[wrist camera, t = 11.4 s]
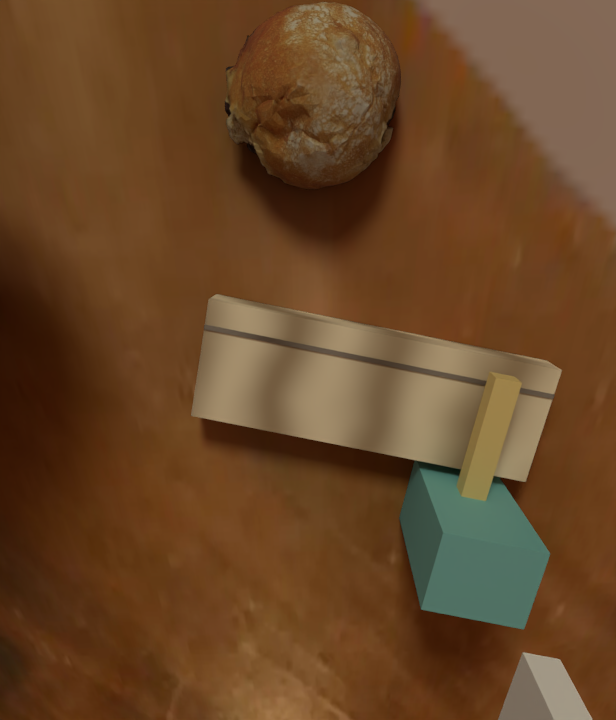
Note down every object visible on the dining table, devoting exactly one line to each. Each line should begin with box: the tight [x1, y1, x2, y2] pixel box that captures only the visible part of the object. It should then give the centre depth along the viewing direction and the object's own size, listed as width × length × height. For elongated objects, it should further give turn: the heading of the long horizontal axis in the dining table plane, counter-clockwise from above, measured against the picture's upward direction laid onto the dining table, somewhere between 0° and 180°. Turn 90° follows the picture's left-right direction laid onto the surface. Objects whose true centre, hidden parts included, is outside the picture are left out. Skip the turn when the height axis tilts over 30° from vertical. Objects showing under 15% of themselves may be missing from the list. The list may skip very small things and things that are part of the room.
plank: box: [191, 294, 562, 482], centre depth 37 cm, size 23×8×3 cm, turn 79°
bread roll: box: [225, 2, 401, 189], centre depth 32 cm, size 10×10×8 cm
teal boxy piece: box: [399, 372, 550, 629], centre depth 35 cm, size 6×13×10 cm, turn 169°
